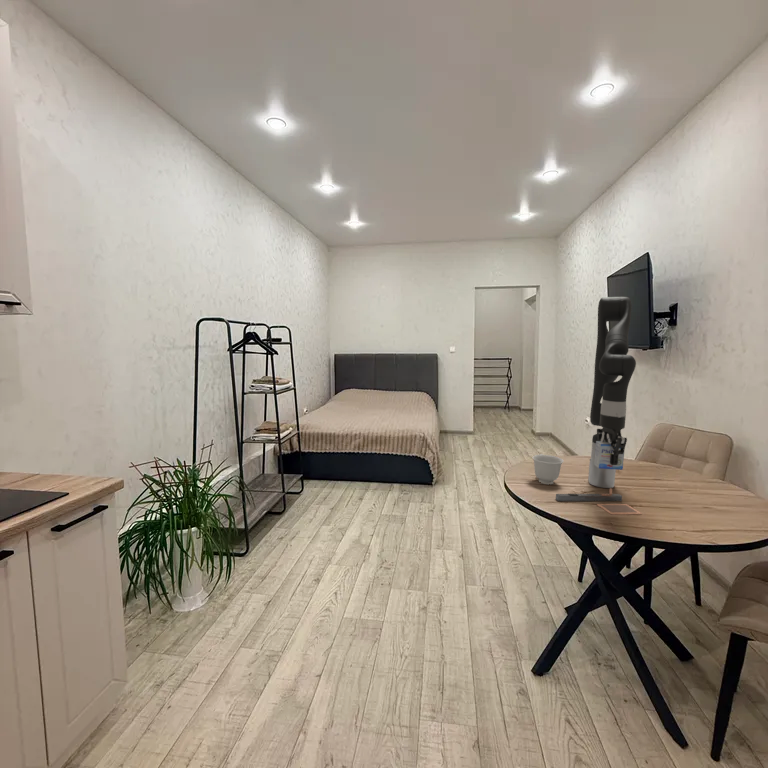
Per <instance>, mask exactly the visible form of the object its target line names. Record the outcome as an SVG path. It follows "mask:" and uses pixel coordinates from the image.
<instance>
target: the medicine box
mask: <svg viewBox="0 0 768 768" xmlns="http://www.w3.org/2000/svg"><path fill="white" fill-rule="evenodd" d="M613 445H616V444H613ZM614 450H615V447H614ZM620 450H621V448H620ZM625 450H626V448H625V449H624V451H625ZM610 456H611V448H610V447H609V444H608V442H600V441H596V448H595V460H594V465H595V466H597V467H598V468H599V469H616V471H619V470H620V471H623V469H624V460H625V452H624V453H623V454H619V455H618V464H617V465H611V464H610Z"/></svg>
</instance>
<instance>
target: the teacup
mask: <svg viewBox="0 0 768 768" xmlns="http://www.w3.org/2000/svg"><path fill="white" fill-rule="evenodd" d="M531 458H532V459H533V464H534V465H533V469H534V474H535V477H536V478H537V479H538V482H539V483H540V482H541V483H540V484H542V485H549V484H550V485H554V481H557V479H558V478H559V477H560V472H561V468H562V467H561V466H562V464H564V459H563V458H561V457H558V456H555V455H552V454H551V455H550V454H543V453H539V454H535V455H533V456H532V457H531Z"/></svg>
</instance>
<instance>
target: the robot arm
mask: <svg viewBox="0 0 768 768" xmlns="http://www.w3.org/2000/svg"><path fill="white" fill-rule="evenodd" d="M597 306H598V307H597V340H596V350H595V358H594V359H595V360H594V373H593V374H594V379H593V389H592V390H593V391H592V399H591V407H590V414H589V415H590V416H589V417H590V418H589V419H590V424H591V425H593V426H596V427H601V428H597V429H596V433H595V434H593V435H592V437H591V438H592V440H591V441H592V442H591V453H590V458H589V465H588V480H587V481H588V483H589V484H590V485H592V486H595V487H597V488H602V489H603V488H604V489H610V488H612V489H613V488H614V487H615V481H616V471H617V470H616V469H599V468H598V467H597V466H595V465H594V460H595V448H596V441H600V442H608V444H609V447H610V448H611V456H610V464H611V465H617V464H618V455H619V454H623V453H624V454H625V450H626V445H627V441H628V438H627V437H624V436H622V430H623V429H625V428H626V427H625V426H626V415H627V395H628V388H629V384H630V382H631V378H632V376H633V374H634V372H635V370H636V367H637V361H636V359H635V357H634V356H632V355H631V354H628V353H629V332H630V326H631V317H632V309H633V308H632V300H631V298H630V297H628V296H603V297H601V298H600V299H599V302H598V305H597ZM607 322H617V323H616V324H615V325H614V326H613V327H612V328H610V330H609V329H608V325H607ZM619 377H621V378H620V379H619V380H617V379H618V378H619ZM613 444H616V445H613ZM614 447H615V450H614ZM620 448H621V450H620ZM624 449H625V450H624Z"/></svg>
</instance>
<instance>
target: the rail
mask: <svg viewBox="0 0 768 768" xmlns="http://www.w3.org/2000/svg"><path fill="white" fill-rule="evenodd" d="M608 492H609V493H555V500H556V501H558V502H623V499H622V498H623V495H621V494H620V493H613V488H609V491H608Z"/></svg>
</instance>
